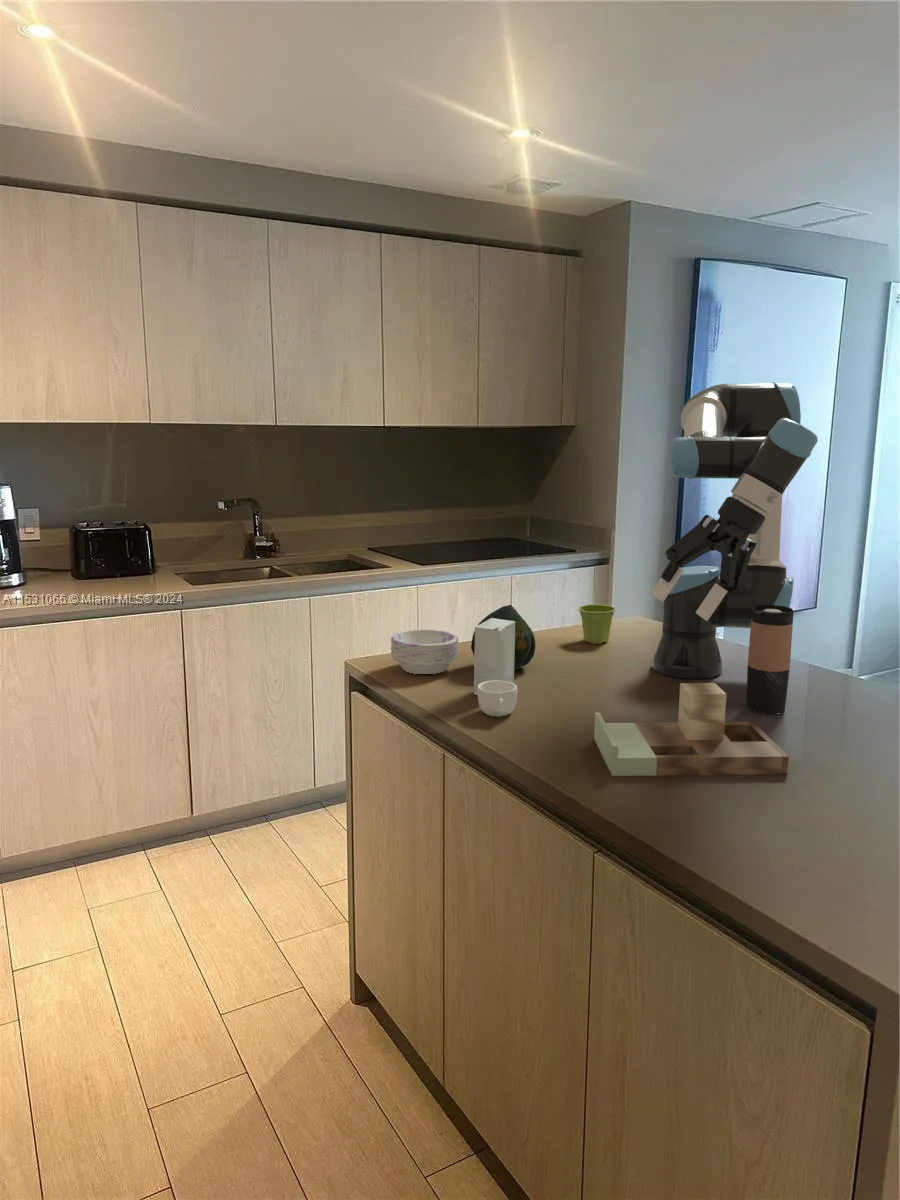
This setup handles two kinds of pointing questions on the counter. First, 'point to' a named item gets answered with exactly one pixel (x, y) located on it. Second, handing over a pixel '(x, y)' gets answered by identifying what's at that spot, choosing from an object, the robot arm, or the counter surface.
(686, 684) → the maple block
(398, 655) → the paper bowls
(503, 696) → the teacup
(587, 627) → the plant pot
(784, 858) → the counter surface
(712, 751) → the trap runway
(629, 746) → the pad
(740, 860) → the counter surface
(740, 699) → the counter surface
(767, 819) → the counter surface
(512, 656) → the skincare box
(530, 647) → the squash
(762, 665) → the travel mug
